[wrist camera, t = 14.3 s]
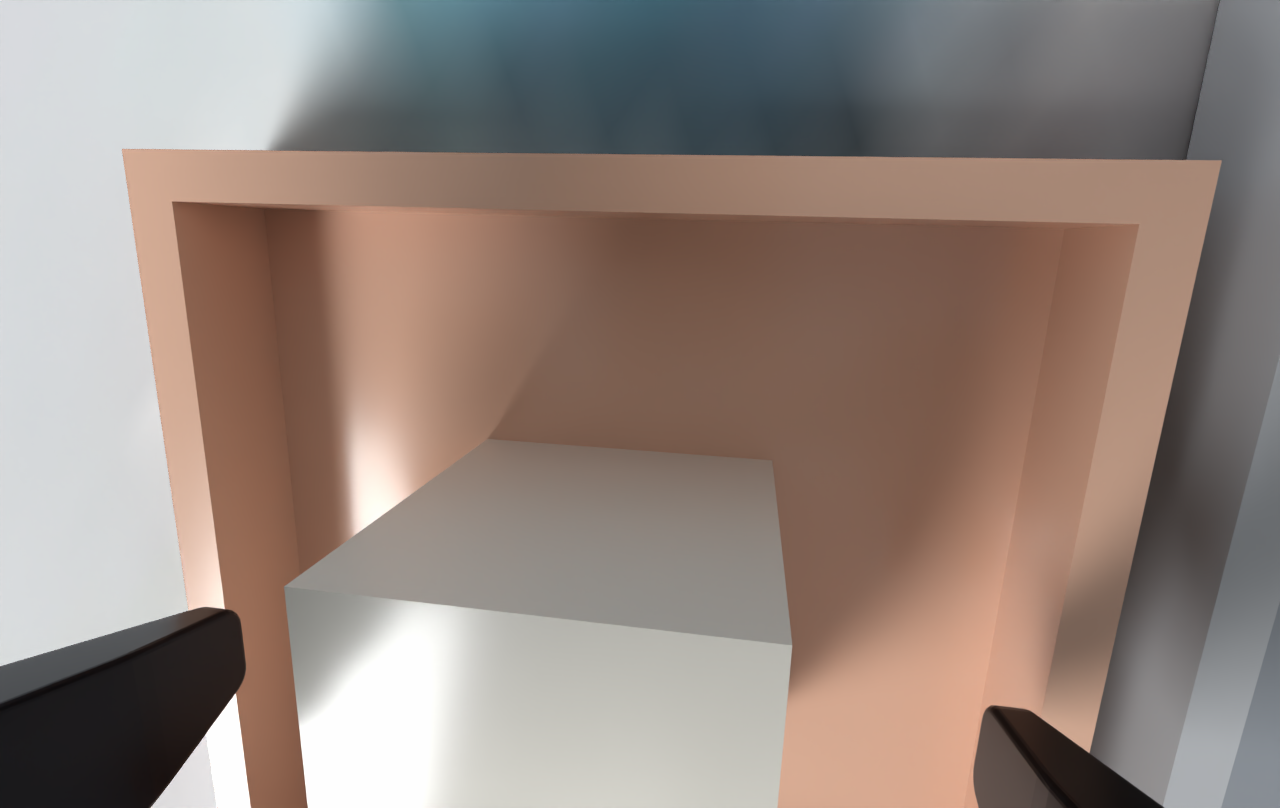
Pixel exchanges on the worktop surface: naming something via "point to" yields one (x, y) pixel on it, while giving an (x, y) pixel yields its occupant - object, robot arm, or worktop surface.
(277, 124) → the worktop surface
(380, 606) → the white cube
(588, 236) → the bin
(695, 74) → the worktop surface
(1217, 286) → the bin
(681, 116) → the worktop surface
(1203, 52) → the worktop surface
